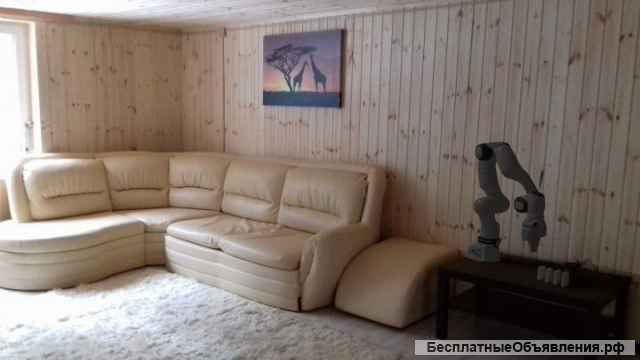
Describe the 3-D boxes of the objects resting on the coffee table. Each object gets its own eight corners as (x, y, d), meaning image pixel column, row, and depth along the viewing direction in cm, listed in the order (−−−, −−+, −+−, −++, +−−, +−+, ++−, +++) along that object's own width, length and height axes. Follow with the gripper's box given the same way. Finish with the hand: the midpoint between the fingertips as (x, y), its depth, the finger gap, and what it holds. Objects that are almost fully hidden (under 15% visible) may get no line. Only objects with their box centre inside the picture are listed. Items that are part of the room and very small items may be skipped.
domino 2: (537, 279, 313) (537, 267, 312) (541, 278, 316) (542, 265, 315) (540, 280, 312) (541, 267, 311) (544, 278, 314) (545, 266, 314)
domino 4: (552, 283, 306) (553, 270, 305) (556, 282, 309) (557, 269, 308) (555, 284, 305) (556, 271, 304) (560, 283, 308) (561, 270, 307)
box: (569, 277, 318) (570, 264, 317) (563, 274, 323) (564, 261, 323) (579, 277, 319) (580, 264, 318) (572, 274, 325) (573, 261, 324)
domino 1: (529, 252, 315) (530, 239, 314) (534, 250, 318) (534, 238, 317) (532, 252, 314) (533, 240, 313) (537, 251, 317) (537, 239, 316)
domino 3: (544, 281, 310) (545, 268, 309) (549, 280, 312) (549, 267, 311) (547, 282, 308) (548, 269, 307) (552, 281, 311) (553, 268, 310)
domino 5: (560, 285, 303) (561, 272, 302) (565, 284, 306) (566, 271, 305) (564, 286, 301) (565, 273, 300) (568, 285, 304) (569, 272, 303)
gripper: (539, 218, 323) (538, 242, 325) (519, 222, 310) (518, 248, 312) (550, 220, 318) (548, 245, 320) (530, 224, 305) (529, 250, 307)
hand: (533, 246), depth 316 cm, fingers closed on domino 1, 4 cm apart
